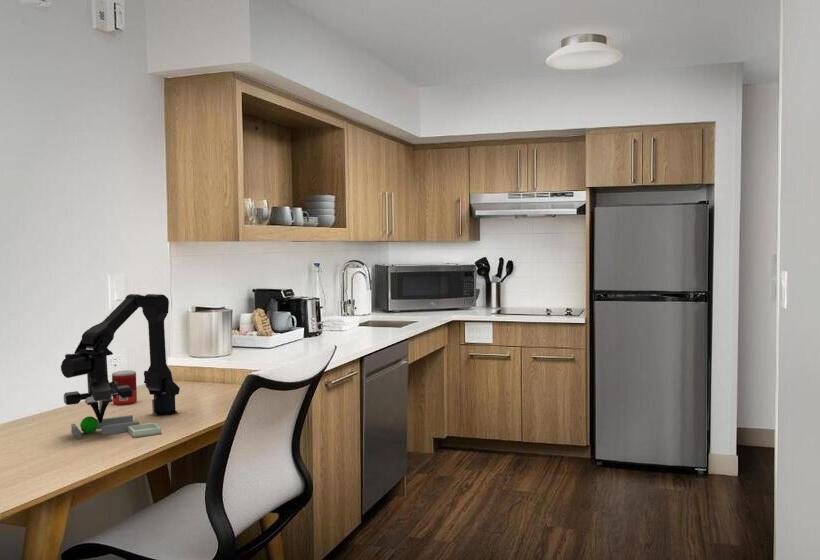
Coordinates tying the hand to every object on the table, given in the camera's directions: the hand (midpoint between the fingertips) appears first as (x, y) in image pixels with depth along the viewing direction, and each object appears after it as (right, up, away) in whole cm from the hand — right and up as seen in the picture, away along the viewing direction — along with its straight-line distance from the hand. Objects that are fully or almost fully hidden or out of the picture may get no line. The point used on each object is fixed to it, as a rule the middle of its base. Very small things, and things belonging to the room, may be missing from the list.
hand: (100, 422), depth 227 cm
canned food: (-7, -1, +39) cm, 40 cm away
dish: (+14, -3, -3) cm, 15 cm away
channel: (+2, -2, +1) cm, 3 cm away
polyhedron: (-3, -3, -1) cm, 4 cm away
